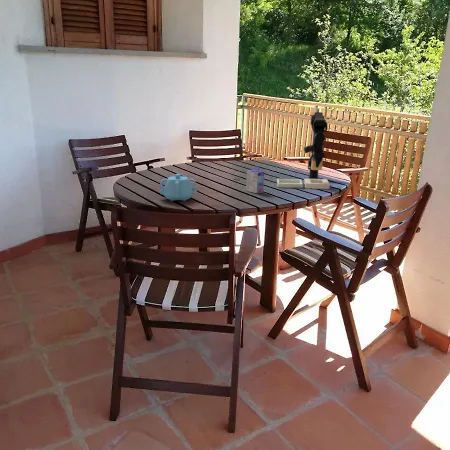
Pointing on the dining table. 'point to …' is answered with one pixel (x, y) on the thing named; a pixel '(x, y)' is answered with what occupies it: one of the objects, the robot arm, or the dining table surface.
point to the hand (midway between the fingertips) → (316, 166)
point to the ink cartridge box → (255, 181)
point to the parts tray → (289, 183)
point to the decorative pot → (178, 188)
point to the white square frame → (317, 183)
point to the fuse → (313, 165)
